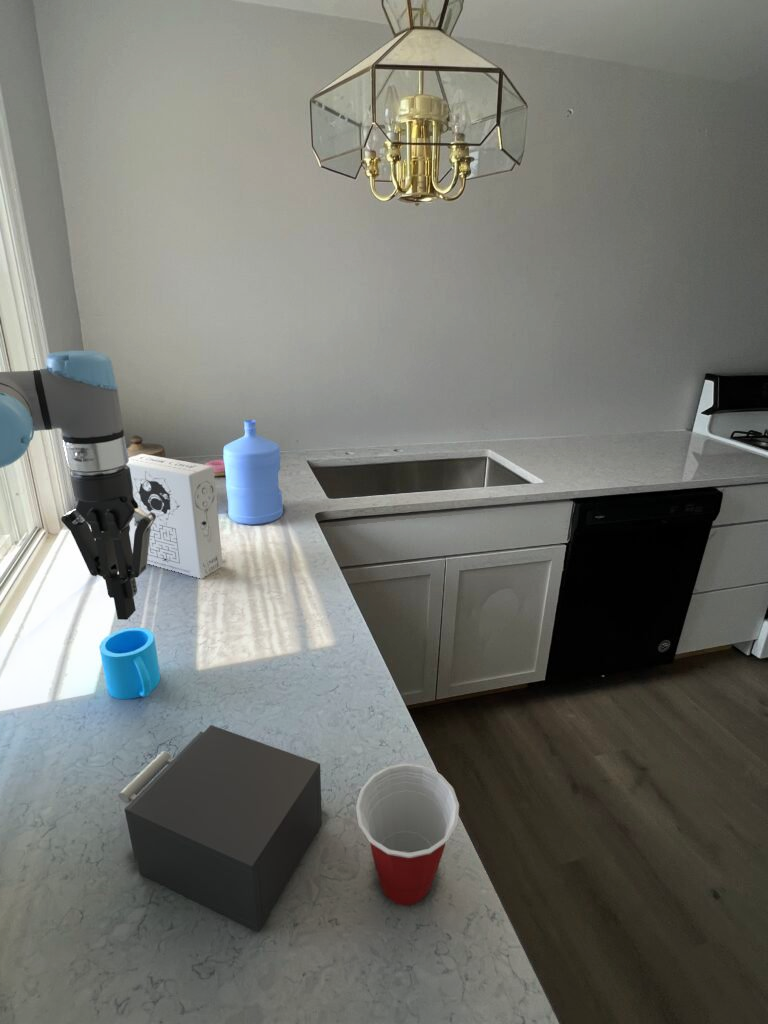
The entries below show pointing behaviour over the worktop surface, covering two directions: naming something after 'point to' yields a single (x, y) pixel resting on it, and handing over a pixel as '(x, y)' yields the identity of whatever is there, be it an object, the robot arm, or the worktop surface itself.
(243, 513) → the water jug
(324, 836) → the worktop surface
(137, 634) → the mug
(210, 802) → the dark grey rectangular box
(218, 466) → the doughnut
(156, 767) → the drawer
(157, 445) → the wooden container
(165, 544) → the cereal box
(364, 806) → the plastic cup
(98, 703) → the worktop surface
